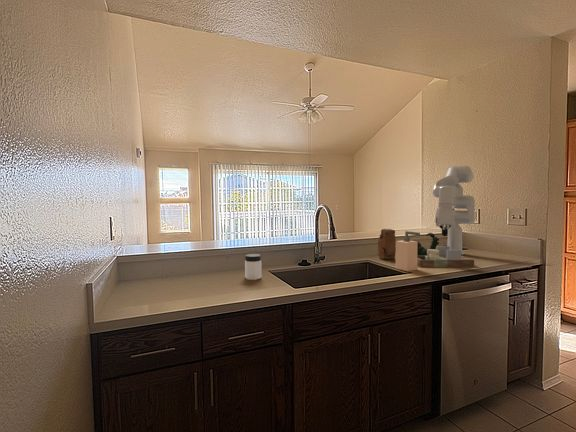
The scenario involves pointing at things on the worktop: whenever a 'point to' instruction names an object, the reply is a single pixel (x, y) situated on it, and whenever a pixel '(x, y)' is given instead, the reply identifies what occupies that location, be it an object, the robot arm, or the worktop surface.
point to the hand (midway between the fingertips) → (444, 235)
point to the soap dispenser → (406, 253)
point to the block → (387, 244)
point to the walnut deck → (444, 262)
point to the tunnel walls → (449, 253)
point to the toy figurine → (423, 252)
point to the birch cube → (433, 253)
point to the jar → (253, 266)
